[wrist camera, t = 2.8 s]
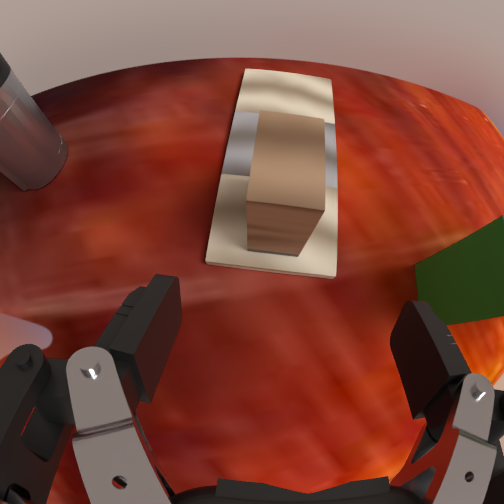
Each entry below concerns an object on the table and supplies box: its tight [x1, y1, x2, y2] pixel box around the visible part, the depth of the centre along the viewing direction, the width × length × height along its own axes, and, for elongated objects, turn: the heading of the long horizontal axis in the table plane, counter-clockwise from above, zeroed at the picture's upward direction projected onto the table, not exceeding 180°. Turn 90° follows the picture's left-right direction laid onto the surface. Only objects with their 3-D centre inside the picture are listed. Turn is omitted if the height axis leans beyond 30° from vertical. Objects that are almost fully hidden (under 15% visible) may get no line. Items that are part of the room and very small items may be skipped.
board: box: [205, 69, 338, 279], centre depth 32 cm, size 30×13×1 cm, turn 173°
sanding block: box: [246, 110, 326, 257], centre depth 24 cm, size 8×5×11 cm, turn 173°
